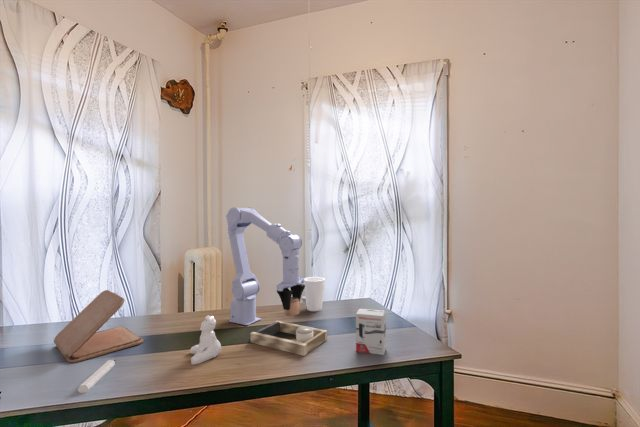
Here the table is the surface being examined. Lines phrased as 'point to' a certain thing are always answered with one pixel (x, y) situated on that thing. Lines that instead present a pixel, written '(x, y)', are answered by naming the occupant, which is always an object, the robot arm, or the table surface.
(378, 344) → the ink box
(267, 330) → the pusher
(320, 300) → the foam cup
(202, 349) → the sitting furry creature
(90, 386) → the marker
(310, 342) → the beige flat open box
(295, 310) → the terracotta jar
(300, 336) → the cream jar
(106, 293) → the case
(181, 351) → the table surface
